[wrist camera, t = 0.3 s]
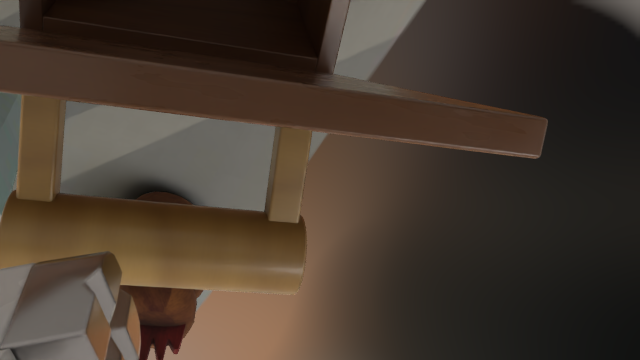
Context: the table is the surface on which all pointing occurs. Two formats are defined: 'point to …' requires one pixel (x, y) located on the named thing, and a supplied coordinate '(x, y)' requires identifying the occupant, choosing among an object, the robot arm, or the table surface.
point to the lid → (217, 103)
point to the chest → (205, 27)
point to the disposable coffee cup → (8, 143)
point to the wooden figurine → (163, 304)
